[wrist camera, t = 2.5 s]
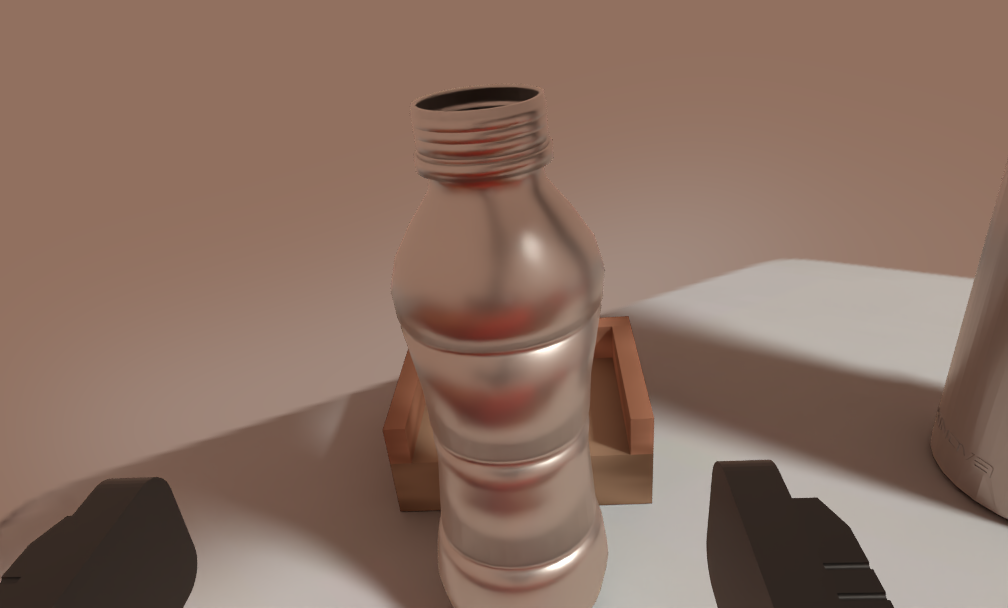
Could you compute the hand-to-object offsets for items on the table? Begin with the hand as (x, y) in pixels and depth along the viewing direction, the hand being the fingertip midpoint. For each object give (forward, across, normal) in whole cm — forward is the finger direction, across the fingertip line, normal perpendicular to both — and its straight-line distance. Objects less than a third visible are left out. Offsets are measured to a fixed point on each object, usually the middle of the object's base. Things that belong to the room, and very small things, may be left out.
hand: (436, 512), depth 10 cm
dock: (+21, 0, +16) cm, 26 cm away
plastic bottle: (+12, 0, +16) cm, 20 cm away
